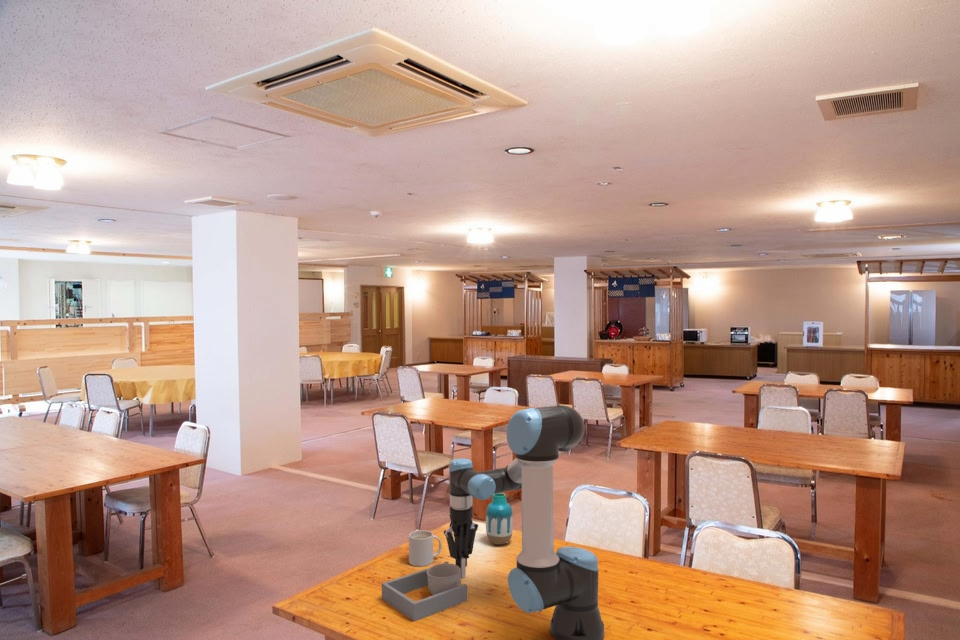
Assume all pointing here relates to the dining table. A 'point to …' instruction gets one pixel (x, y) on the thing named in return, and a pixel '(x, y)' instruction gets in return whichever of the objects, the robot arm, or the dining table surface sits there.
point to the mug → (422, 548)
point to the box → (426, 606)
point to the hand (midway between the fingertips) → (461, 577)
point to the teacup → (443, 577)
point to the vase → (499, 520)
